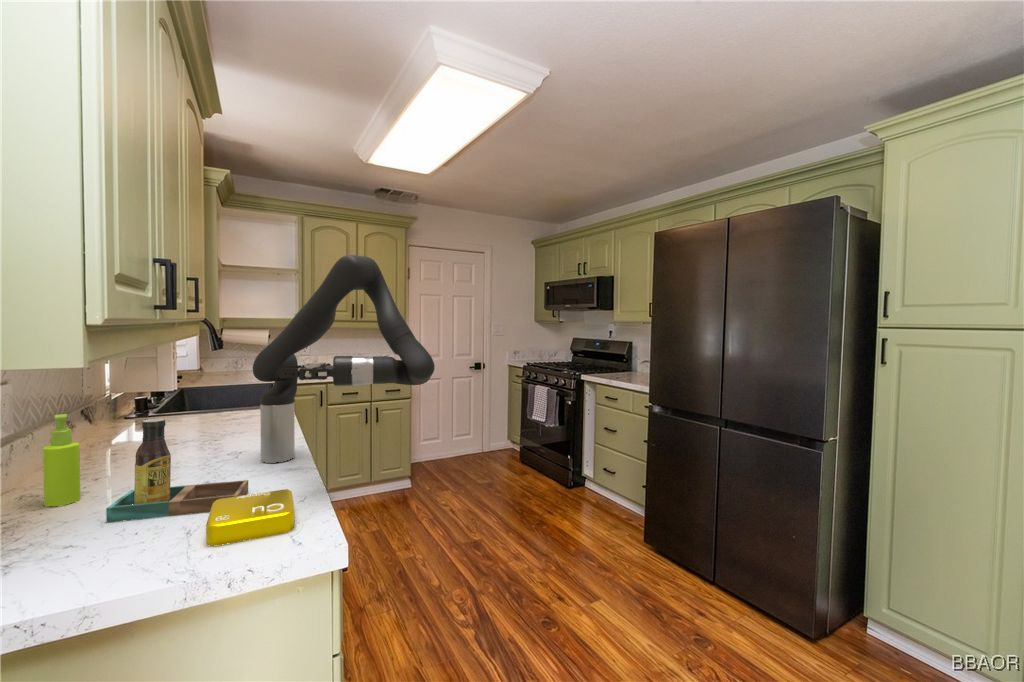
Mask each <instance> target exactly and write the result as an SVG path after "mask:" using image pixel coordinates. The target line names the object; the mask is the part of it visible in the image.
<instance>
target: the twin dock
mask: <svg viewBox="0 0 1024 682" xmlns="http://www.w3.org/2000/svg"><path fill="white" fill-rule="evenodd" d="M248 493H249V480H248V479H244V480H233V481H224V482H213V483H211V482H210V483H199V484H186V485H177V486H170V500H169V501H164V502H154V503H143V504H134V489H131V490H129V491H128V492H127V493H125V494H124V495H122V496H121V497H120V498H118V499H117V500H116V501H114V502H113V503H111V504H110V505H109V506H107V507H106V508H105V509H106V510H105V511H106V512H105V513H106V514H105V516H106V523H107V522H108V523H115V521H117V522H124V521H123V520H127V521H132V520H131V519H137V520H144V519H143V518H146V519H154V518H155V517H156V518H163V517H164V518H165V517H174V516H181V515H182V516H183V515H185V516H186V515H193V514H203V513H210V510H211V507H212V504H213V503H214V502H215V501H216V500H218V499H222V498H229V497H236V496H243V495H248ZM233 494H234V495H233ZM222 495H224V496H222ZM213 496H214V497H213ZM132 504H133V505H132Z"/></svg>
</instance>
